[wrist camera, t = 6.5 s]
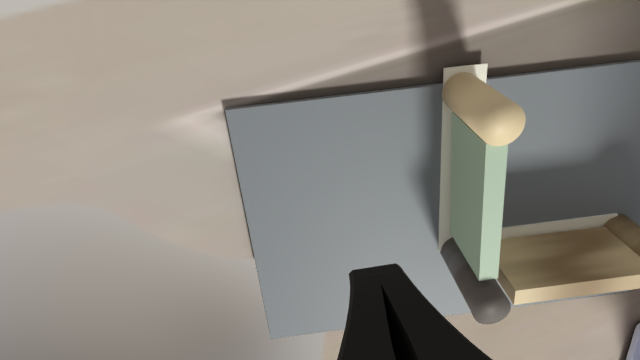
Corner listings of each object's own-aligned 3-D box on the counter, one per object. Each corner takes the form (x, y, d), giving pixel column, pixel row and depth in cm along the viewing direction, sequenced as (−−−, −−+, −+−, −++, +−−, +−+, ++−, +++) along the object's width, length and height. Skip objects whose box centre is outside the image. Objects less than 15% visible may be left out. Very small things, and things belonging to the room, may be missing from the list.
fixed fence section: (633, 212, 23) (706, 267, 19) (627, 238, 24) (695, 296, 20) (440, 237, 23) (474, 297, 19) (439, 262, 23) (472, 326, 20)
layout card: (695, 36, 19) (703, 38, 19) (626, 287, 26) (631, 292, 25) (222, 91, 19) (221, 94, 18) (270, 334, 25) (270, 340, 25)
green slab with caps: (474, 228, 22) (510, 281, 19) (441, 233, 22) (472, 287, 19) (480, 69, 19) (527, 98, 15) (442, 74, 19) (479, 105, 15)
